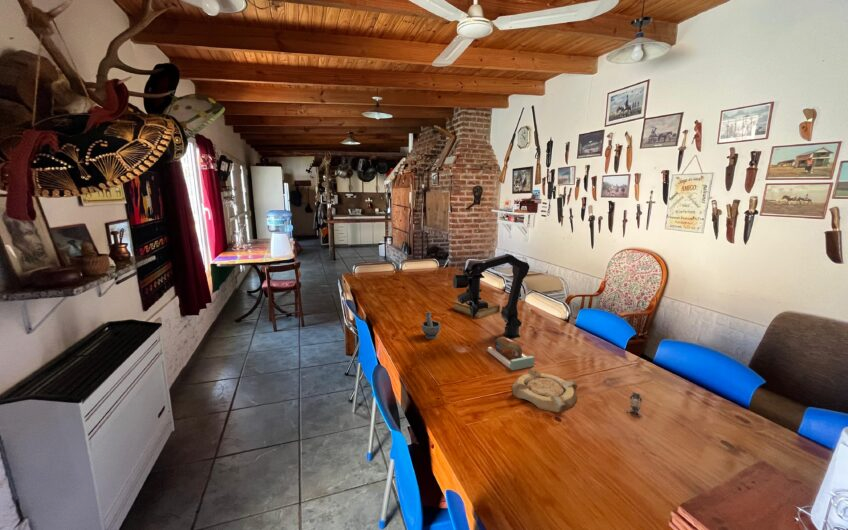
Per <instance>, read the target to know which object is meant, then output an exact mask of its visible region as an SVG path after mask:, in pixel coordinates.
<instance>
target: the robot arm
mask: <svg viewBox="0 0 848 530" xmlns="http://www.w3.org/2000/svg"><path fill="white" fill-rule="evenodd" d="M506 264H509V265H510V266H512V267H511V268H512V275H513V276H512V282H511V286H510V290H509V296H508V300H507V303H506V305H505V306H501V310H500V314H501V318H502V319H503V321H504V323H505V326H504V332H503V335H505V337H507V338H508V339H514V338H521V335H520V327H522V323H523V322H522V321H521V320H520V319H519V318H518V317H519V310H518V303H519V299H520V295H521V291H522V285H523V282H524V279H525V278H526V277H527V275H528V273H529V271H530V267H531V266H530V265H529V263H528V262H526V261H523V260H520V259H518V258H517V257H515V256H514V255H513V254H511V253H505V254H501V255H498V256H495V257H492V258H488V259H482V260H480V259H478V260H470V261H469V262H468V263H467V266H466V267H465V269H464V271H463V272H462V273H461V274H458V273H456V274H454V277H453V279H452V286H453V288H454V289H465V292H461V293H460V294H458V295H456V298H457V300H458V302H460V303H461V304H464V303H465V302H466V304H467V305H468V306H469V308H470V312H471V318H473V319H474V318H476V317H475V316H476V314H477V312H478V310H479V309H486V308H488V303H487V302H485V301H486V300H485V301H479V300H481V299H482V297H481V296H480V295H481V294H480V293H481V292H482V288H481V279H485V278H486V277H485V276H484V275H483V274H482V273H484V272H486V270H489V269H492V268H496V267H499V266H502V265H506Z"/></svg>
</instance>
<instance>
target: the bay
mask: <svg viewBox="0 0 848 530" xmlns="http://www.w3.org/2000/svg"><path fill="white" fill-rule="evenodd" d="M487 352H488V353H489V354H491V355H492V356H493V357H494V358H496V359H497V360H498V361H500V362H501V363H502V364H503V365H504V366H505V367H507V368H508V369H509V370H511V371H516V370H521V369H526V368H532V367H535V356H533V355H528V356H527V355H525V353H522V357H521V358H518V359H513V360H509V359H507V358H505V357H504V356H502V355H501V354H500V353H498V352H497V351H496V349H495V348H493V347H492V346H488V347H487Z"/></svg>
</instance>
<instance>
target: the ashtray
mask: <svg viewBox="0 0 848 530" xmlns="http://www.w3.org/2000/svg"><path fill="white" fill-rule="evenodd" d="M577 388H578V383H577V382H576V381H574V380H573V379H569V380H567V381H566V380H565V379H563V378H561V377H559V376H555V375H553V374H549V373H543V372H539V371H538V370H536V369H532V368H529V369H528V373H525V374H522V375H521V376H519V377H518V378H516V380H515V382H514V383H513V384H512V387H511V390H512V391H511V392H512V395H513V396H514V397H516V398H517V399H523V400H527V401H529V402H530V403H532V404H533V405H535V406H536V408H539V409H541V410H546V411H551V412H557V413H562V412H565V411H566V410H567V409H570V408H572V407H574V406H575V405H576V403H577V402H578V395H577V393H576V391H577Z"/></svg>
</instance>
